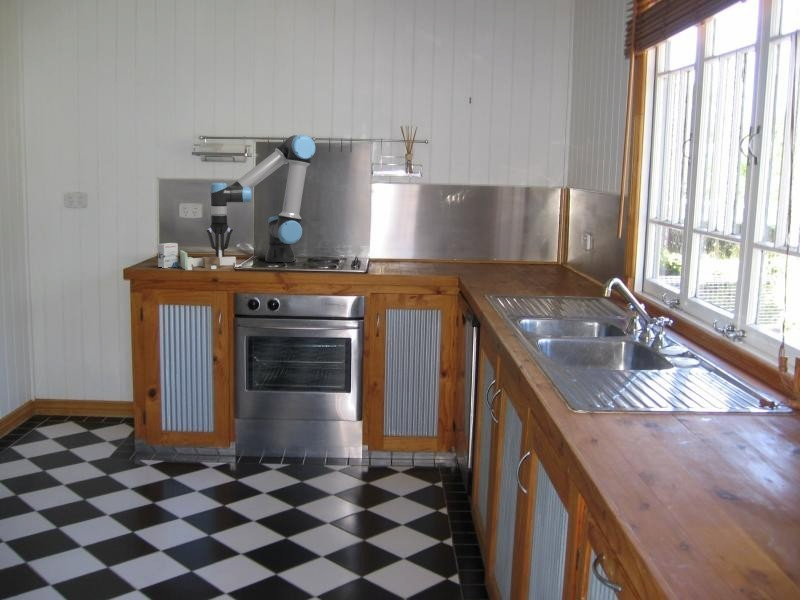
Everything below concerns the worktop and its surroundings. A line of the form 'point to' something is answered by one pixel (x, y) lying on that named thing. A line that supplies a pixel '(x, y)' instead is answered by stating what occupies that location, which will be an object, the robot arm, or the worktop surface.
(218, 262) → the block
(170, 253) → the ink box
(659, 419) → the worktop surface
